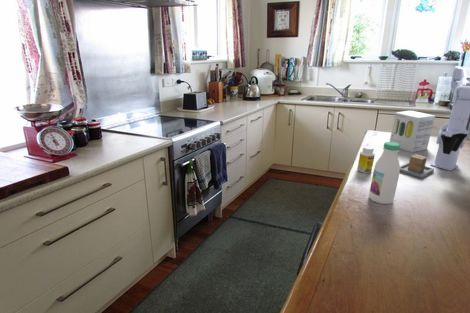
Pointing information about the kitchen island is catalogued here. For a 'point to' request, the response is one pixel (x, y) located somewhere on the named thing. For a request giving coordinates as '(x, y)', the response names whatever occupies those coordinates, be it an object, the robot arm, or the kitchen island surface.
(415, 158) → the walnut block
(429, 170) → the grey tray
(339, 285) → the kitchen island surface
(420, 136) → the supplement box
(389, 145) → the milk bottle
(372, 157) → the supplement bottle
